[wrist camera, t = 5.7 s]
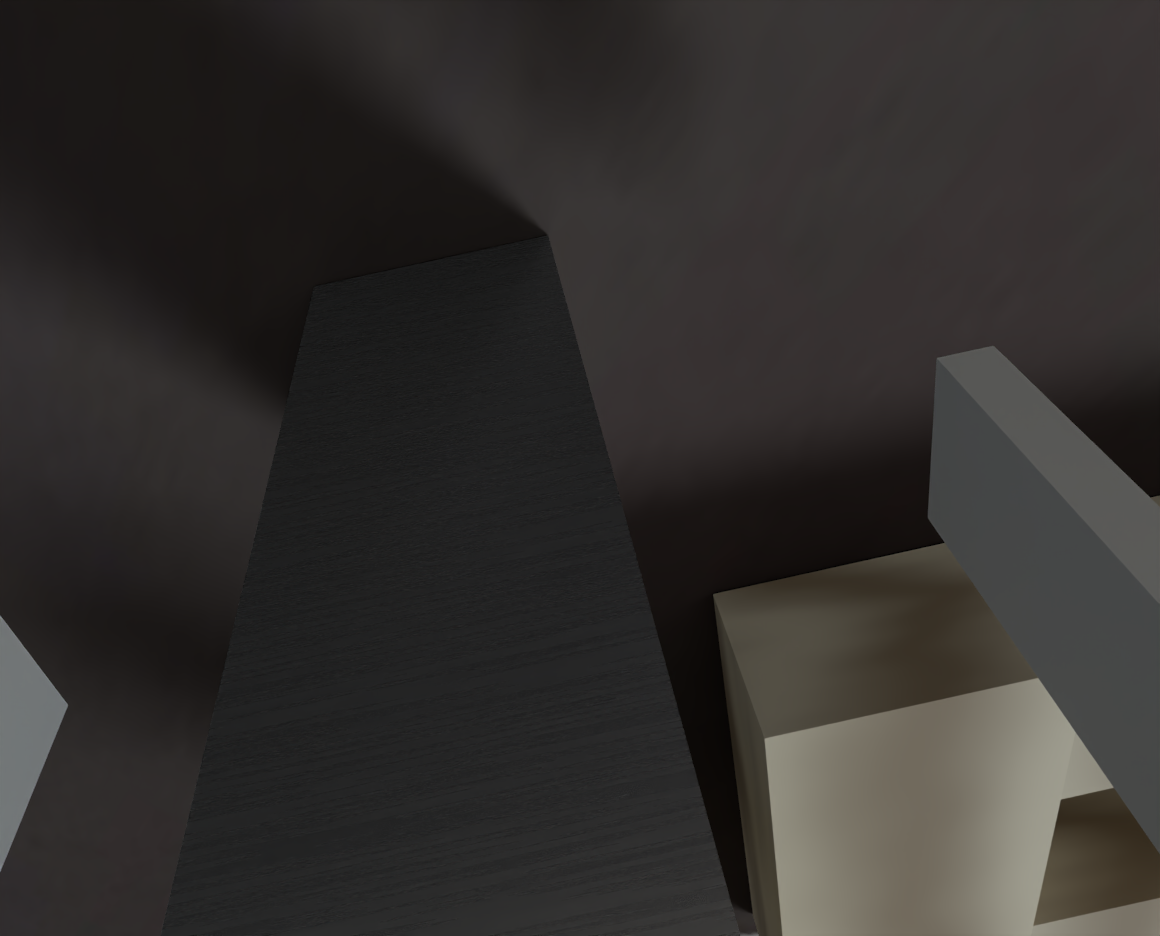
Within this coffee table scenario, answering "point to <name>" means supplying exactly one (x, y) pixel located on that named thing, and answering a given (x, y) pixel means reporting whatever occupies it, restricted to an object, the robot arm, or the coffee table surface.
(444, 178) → the coffee table surface
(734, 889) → the coffee table surface
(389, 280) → the square bit
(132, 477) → the coffee table surface
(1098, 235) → the coffee table surface
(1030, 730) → the socket block
